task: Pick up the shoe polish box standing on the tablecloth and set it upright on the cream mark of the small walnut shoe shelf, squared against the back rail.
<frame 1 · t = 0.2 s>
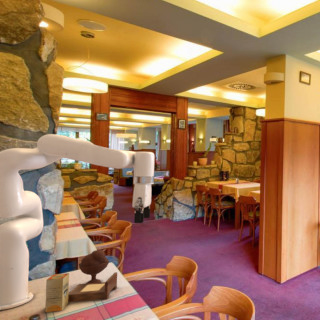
hand: (142, 220, 122), 31 cm above the table, tool pointing down, fingers open, 9 cm apart
shoe polish box: (57, 308, 107), on the table
ice cream bowl: (93, 283, 129), on the table
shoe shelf: (92, 294, 118), on the table
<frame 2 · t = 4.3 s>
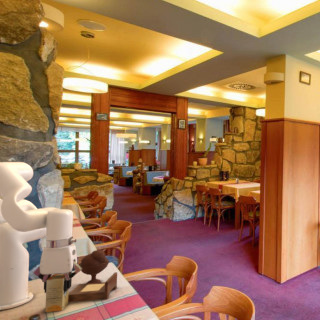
hand: (57, 289, 107), 7 cm above the table, tool pointing down, fingers closed on shoe polish box, 5 cm apart
shoe polish box: (57, 308, 107), on the table, touching gripper
everything else where it was.
when the fingers open (10 cm above the table, at t = 10.1 s): shoe polish box stays where it is, resting on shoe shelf.
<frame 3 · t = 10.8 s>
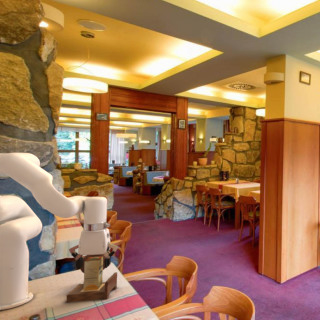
hand: (93, 267, 118), 11 cm above the table, tool pointing down, fingers open, 9 cm apart
shoe polish box: (93, 287, 118), point 3 cm above the table, touching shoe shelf
everything else where it was.
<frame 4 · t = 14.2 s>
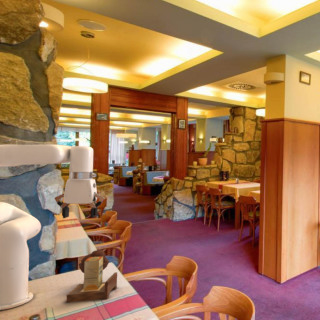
hand: (79, 217, 117), 32 cm above the table, tool pointing down, fingers open, 9 cm apart
nothing on the table moved.
at the end: shoe polish box 0.0 cm off-centre on the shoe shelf, point 2.9 cm above the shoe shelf's base; shoe polish box tilted 0°; the gripper is holding nothing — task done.
